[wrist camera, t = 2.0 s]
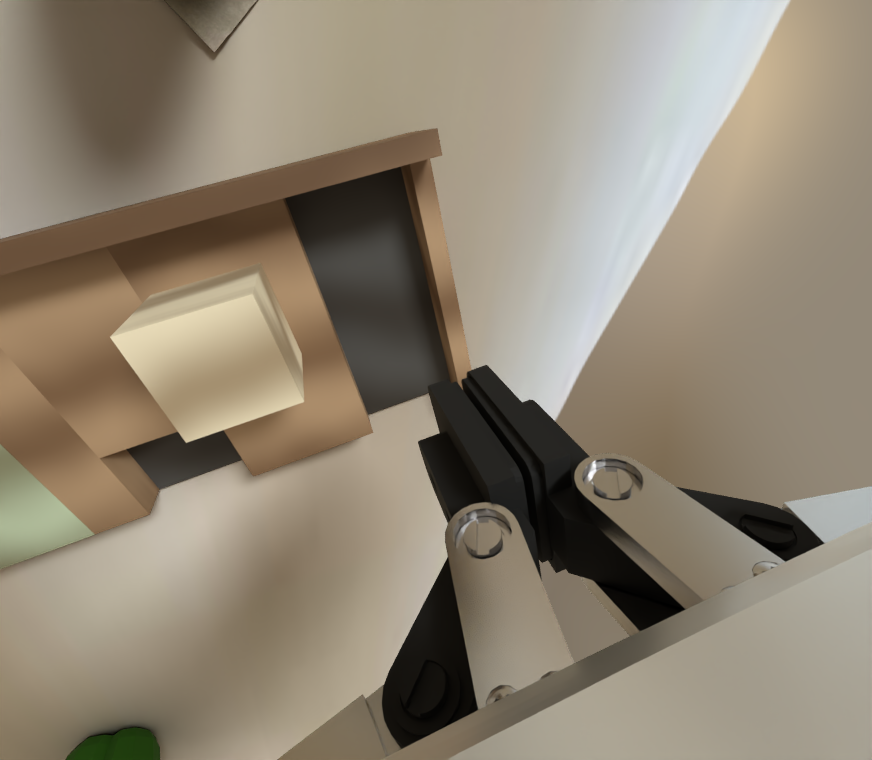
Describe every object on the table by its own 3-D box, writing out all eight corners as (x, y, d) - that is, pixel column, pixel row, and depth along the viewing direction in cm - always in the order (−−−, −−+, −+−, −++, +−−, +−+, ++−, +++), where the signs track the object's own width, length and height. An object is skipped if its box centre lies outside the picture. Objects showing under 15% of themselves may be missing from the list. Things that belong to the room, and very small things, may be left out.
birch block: (150, 295, 19) (109, 337, 14) (260, 262, 19) (252, 294, 15) (206, 385, 21) (186, 442, 17) (301, 354, 22) (304, 402, 18)
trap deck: (-355, 331, 16) (-549, 386, 12) (411, 132, 21) (437, 128, 17) (-41, 556, 24) (-102, 631, 20) (462, 377, 29) (488, 411, 25)
